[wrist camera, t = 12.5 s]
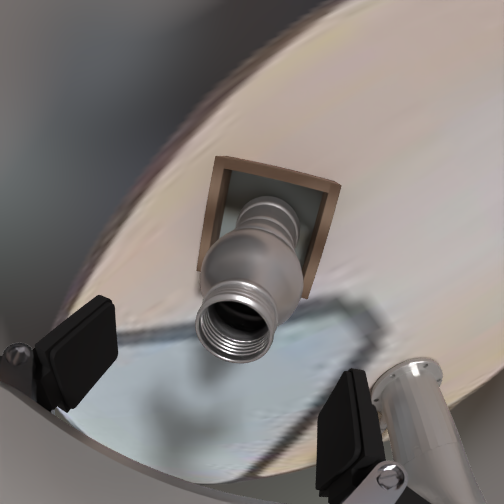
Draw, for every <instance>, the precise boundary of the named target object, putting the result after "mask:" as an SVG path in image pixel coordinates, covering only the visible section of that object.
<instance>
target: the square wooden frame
mask: <svg viewBox="0 0 504 504" xmlns="http://www.w3.org/2000/svg"><path fill="white" fill-rule="evenodd" d="M340 189H341V185H340V184H338V183H337V182H335V181H332V180H328V179H324V178H321V177H317V176H313V175H309V174H306V173H302V172H298V171H294V170H289V169H285V168H281V167H277V166H272V165H268V164H263V163H259V162H254V161H249V160H244V159H239V158H234V157H229V156H215V161H214V167H213V172H212V177H211V183H210V188H209V194H208V200H207V206H206V212H205V218H204V224H203V230H202V237H201V243H200V250H199V257H198V264H197V271H200V272H201V267H202V263H203V259H204V257H205V255H206V253H207V251H208V250H209V249H210V247H211V246H212V245H213V244H214V243H215V242H216V241H217V240H218V239H220V238H221V237H222V236H224V235H225V234H227V233H229V232H230V231H232V230H234V229H235V228H236V222H237V218H238V215H239V213H240V211H241V209H242V208H243V207H244V206H245V204H247V203H248V202H249V201H251V200H253V199H255V198H257V197H261V196H272V197H277V198H279V199H282V200H283V201H285V202H286V203H288V204H289V205H290V206H291V207H292V208H293V210H294V211H295V212H296V214H297V217H298V219H299V223H300V237H299V240H298V243H297V246H296V248H295V253H296V255H297V258H298V260H299V262H300V266H301V270H302V275H303V292H302V297H301V298H305V299H308V296H309V293H310V290H311V287H312V284H313V281H314V278H315V275H316V272H317V269H318V265H319V262H320V259H321V256H322V253H323V249H324V246H325V243H326V239H327V236H328V232H329V229H330V226H331V222H332V219H333V215H334V211H335V208H336V204H337V200H338V197H339V193H340Z"/></svg>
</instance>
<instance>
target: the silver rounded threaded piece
mask: <svg viewBox="0 0 504 504" xmlns="http://www.w3.org/2000/svg"><path fill="white" fill-rule="evenodd" d="M299 237H300V223H299V219H298V217H297V214H296V212H295V211H294V210H293V208H292V207H291V206H290V205H289V204H288V203H286V202H285V201H283V200H282V199H279V198H277V197H272V196H261V197H257V198H255V199H253V200H251V201H249V202H248V203H247V204H245V206H244V207H243V208H242V209H241V211H240V213H239V215H238V218H237V222H236V228H235V229H234V230H232V231H230V232H229V233H227V234H225V235H224V236H222V237H221V238H220V239H218V240H217V241H216V242H215V243H214V244H213V245H212V246H211V247H210V249H209V250H208V251H207V253H206V255H205V257H204V259H203V263H202V267H201V276H200V286H201V292H202V295H203V298H204V299H203V302H202V306H201V307H200V309H199V311H198V313H197V317H196V321H195V329H196V333H197V336H198V338H199V340H200V342H201V343H202V345H203V346H204V347H205V348H206V349H207V350H208V351H209V352H210V353H212V354H213V355H214V356H216V357H218V358H220V359H222V360H225V361H228V362H232V363H249V362H252V361H255V360H257V359H259V358H261V357H262V356H264V355H265V354H266V353H267V351H268V350H269V348H270V346H271V344H272V342H273V338H274V333H275V331H276V328H277V327H278V326H280V325H281V324H283V323H284V322H285V321H286V320H287V319H289V317H290V316H291V315H292V313H293V312H294V311H295V309H296V307H297V306H298V304H299V301H300V299H301V297H302V292H303V275H302V270H301V266H300V262H299V260H298V258H297V255H296V253H295V248H296V246H297V243H298V240H299Z"/></svg>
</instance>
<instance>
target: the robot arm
mask: <svg viewBox="0 0 504 504" xmlns="http://www.w3.org/2000/svg"><path fill="white" fill-rule="evenodd" d="M117 356H118V346H117V334H116V320H115V306H114V304H112V301H111V300H110V299H108V298H106V297H104V296H101V295H98V296H96V297H95V298H93V299H92V300H91V301H89V302H88V303H87V304H85V305H84V306H83V307H81V308H80V309H79V310H78V311H76V312H75V313H74V314H72V315H71V316H70V317H69V318H67V319H66V320H65V321H63V322H62V323H61V324H60V325H58V326H57V327H56V328H55V329H53V330H52V331H51V332H50V333H48V334H47V335H46V336H45V337H44V338H42V339H41V340H40V341H39V342H38V343H36V344H35V348H34V349H33V350H32V348H31V347H30V346H29V345H27V344H25V343H14V344H11V345H9V346H8V347H7V348H6V349H5V350H4V352H3V354H2V356H0V504H285V503H278V502H271V501H265V500H260V499H254V498H249V497H244V496H239V495H235V494H231V493H227V492H223V491H219V490H215V489H211V488H208V487H204V486H201V485H198V484H195V483H191V482H188V481H185V480H182V479H179V478H177V477H174V476H171V475H168V474H166V473H163V472H160V471H158V470H155V469H153V468H151V467H148V466H146V465H143V464H141V463H139V462H137V461H134V460H132V459H130V458H128V457H126V456H124V455H122V454H120V453H118V452H116V451H114V450H112V449H110V448H108V447H106V446H104V445H102V444H100V443H99V442H97V441H95V440H93V439H92V438H90V437H88V436H86V435H85V434H83V433H81V432H80V431H78V430H76V429H75V428H73V427H72V426H70V425H69V424H67V423H65V422H64V421H62V420H61V419H59V418H58V417H56V416H55V413H54V409H55V408H56V407H57V406H58V407H59V408H60V409H62V410H63V411H65V412H66V413H68V412H69V410H70V409H74V408H75V407H76V406H77V405H78V404H79V403H80V402H81V400H82V399H83V398H84V397H85V395H86V394H87V393H88V392H89V391H90V390H91V388H92V387H93V386H94V385H95V384H96V382H97V381H98V380H99V379H100V378H101V376H102V375H103V374H104V373H105V372H106V371H107V369H108V368H109V367H110V366H111V365H112V364H113V362H114V361H115V360H116V359H117ZM442 378H443V373H442V370H441V368H440V366H439V364H438V363H437V362H436V361H434V360H432V359H428V358H416V359H411V360H408V361H405V362H403V363H400V364H398V365H396V366H395V367H393V368H391V369H390V370H388V371H387V372H386V373H384V374H383V375H382V376H381V377H380V378H379V379H378V381H377V382H376V383H375V385H374V387H373V389H372V392H371V396H370V391H369V387H368V382H367V377H366V373H365V371H364V370H358V369H352V368H351V369H349V370H348V371H344V372H343V374H342V376H341V377H340V379H339V381H338V383H337V385H336V386H335V388H334V390H333V392H332V393H331V395H330V397H329V398H328V400H327V402H326V403H325V405H324V407H323V408H322V410H321V412H320V413H319V416H318V422H317V466H316V489H317V490H319V497H328V503H329V504H487V502H486V500H485V498H484V496H483V494H482V492H481V490H480V488H479V486H478V484H477V481H476V479H475V477H474V475H473V472H472V470H471V467H470V464H469V461H468V459H467V456H466V453H465V450H464V447H463V445H462V442H461V439H460V436H459V434H458V431H457V428H456V426H455V423H454V421H453V418H452V416H451V413H450V411H449V409H448V406H447V404H446V402H445V399H444V397H443V395H442V392H441V390H440V388H439V387H440V384H441V382H442ZM377 411H378V412H380V413H381V414H382V417H381V418H380V422H379V419H378V414H377ZM386 428H387V429H388V434H389V439H390V444H391V449H392V455H393V460H394V461H386V459H385V453H384V446H383V441H382V435H381V434H382V433H383V432H384V431H385V430H386Z"/></svg>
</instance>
